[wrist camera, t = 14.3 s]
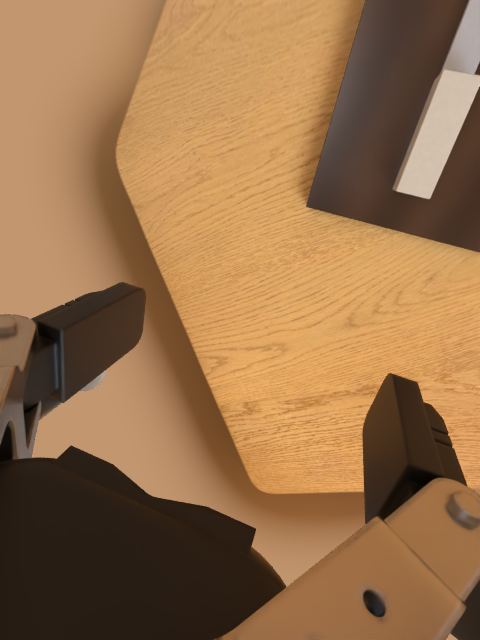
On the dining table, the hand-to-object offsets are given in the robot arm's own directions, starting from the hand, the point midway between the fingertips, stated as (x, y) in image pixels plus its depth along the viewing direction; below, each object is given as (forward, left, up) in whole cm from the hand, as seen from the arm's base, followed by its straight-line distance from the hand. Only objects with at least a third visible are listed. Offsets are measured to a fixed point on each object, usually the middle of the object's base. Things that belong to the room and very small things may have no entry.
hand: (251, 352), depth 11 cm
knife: (+6, +14, -25) cm, 29 cm away
